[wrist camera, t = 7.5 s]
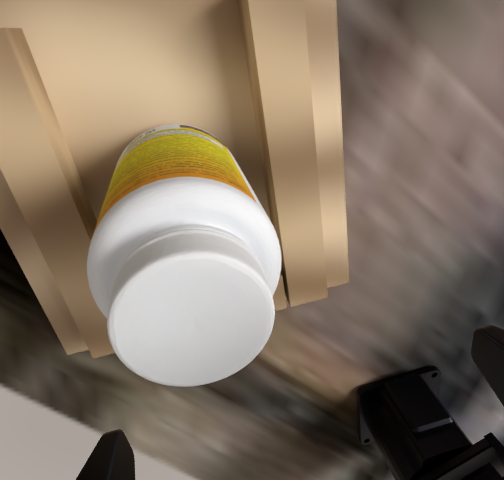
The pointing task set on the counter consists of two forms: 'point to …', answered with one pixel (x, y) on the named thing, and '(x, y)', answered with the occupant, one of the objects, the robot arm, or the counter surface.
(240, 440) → the counter surface
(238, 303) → the supplement bottle
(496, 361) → the robot arm
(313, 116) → the stand
